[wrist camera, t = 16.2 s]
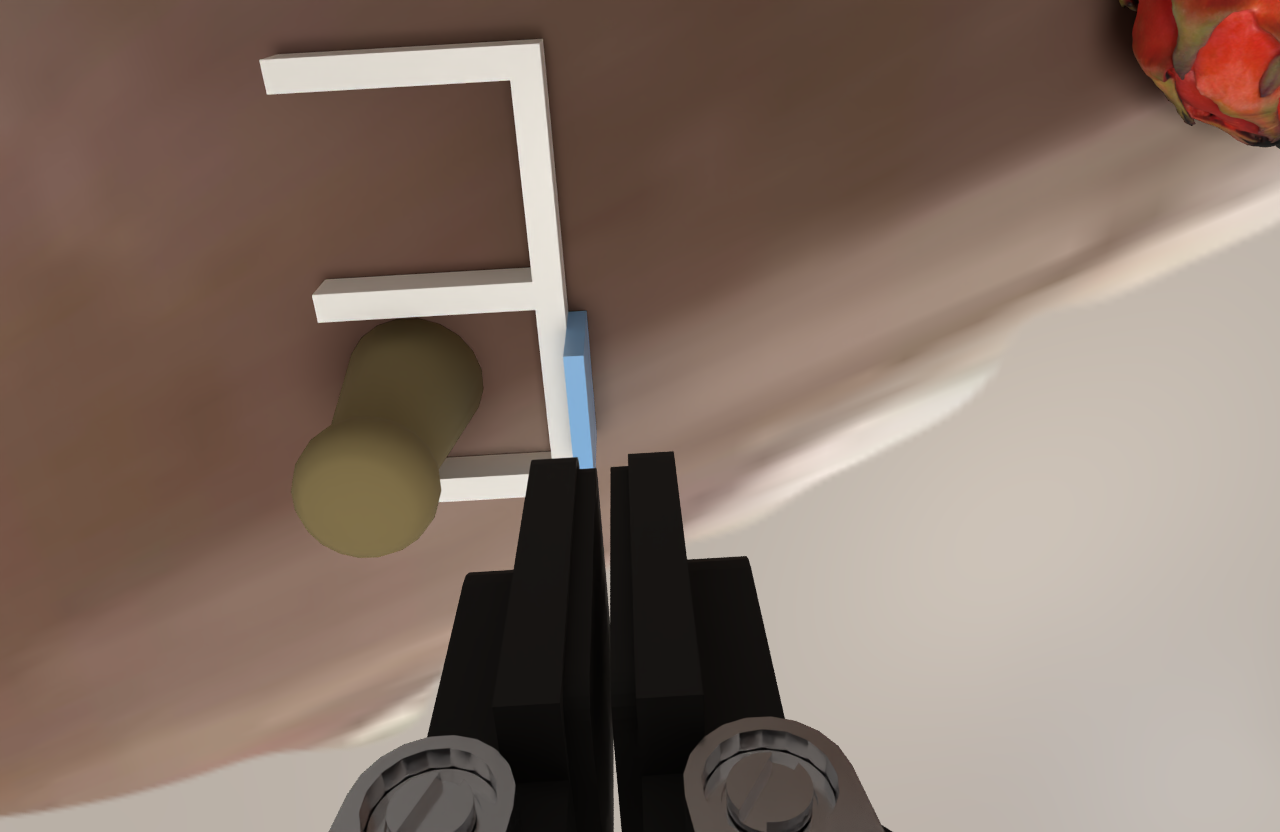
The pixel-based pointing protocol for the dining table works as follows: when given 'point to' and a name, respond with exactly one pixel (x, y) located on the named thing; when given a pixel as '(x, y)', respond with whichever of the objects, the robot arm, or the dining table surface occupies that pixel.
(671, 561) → the robot arm
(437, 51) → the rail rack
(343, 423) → the olive rounded piece
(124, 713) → the dining table surface
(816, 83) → the dining table surface
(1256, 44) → the dragon fruit
